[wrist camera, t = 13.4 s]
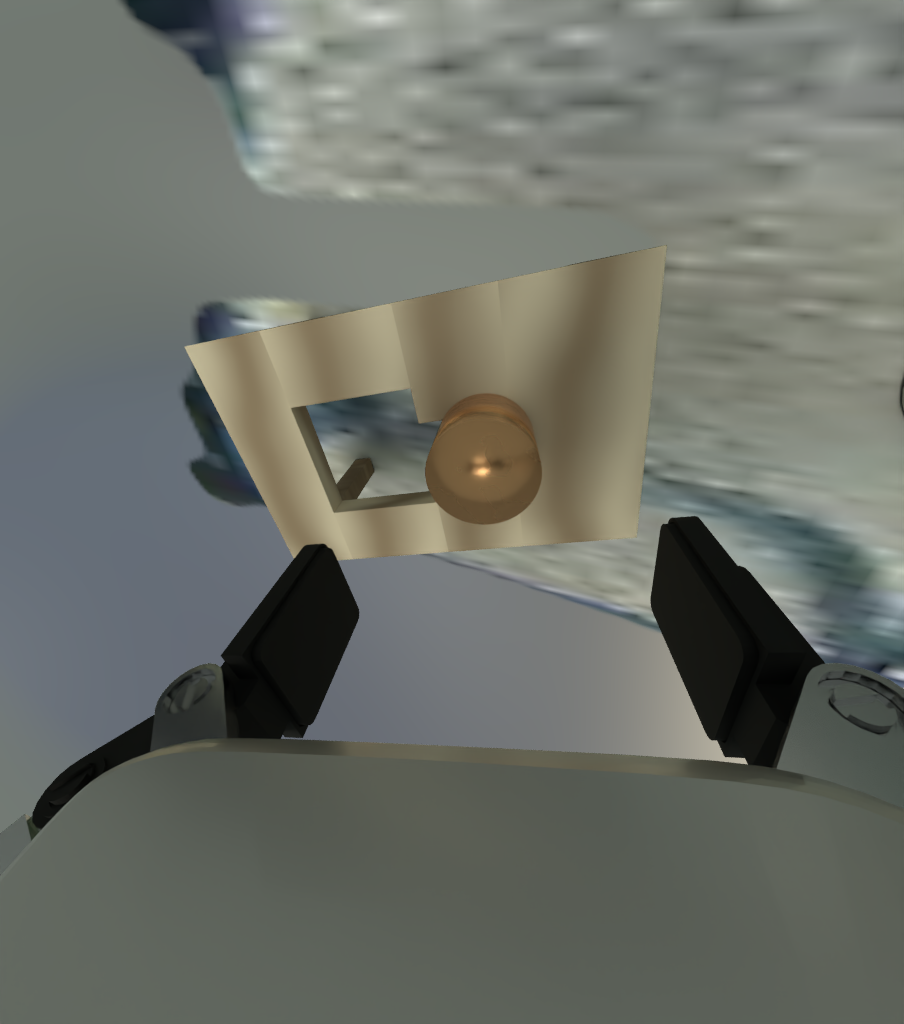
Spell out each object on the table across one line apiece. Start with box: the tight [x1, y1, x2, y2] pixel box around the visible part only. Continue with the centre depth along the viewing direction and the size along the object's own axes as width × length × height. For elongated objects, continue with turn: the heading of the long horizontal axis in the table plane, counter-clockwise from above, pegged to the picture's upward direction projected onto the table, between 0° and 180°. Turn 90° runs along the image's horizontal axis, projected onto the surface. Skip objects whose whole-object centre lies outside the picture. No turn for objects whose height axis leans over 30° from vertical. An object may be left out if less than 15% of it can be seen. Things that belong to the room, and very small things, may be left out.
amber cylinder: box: [425, 393, 542, 525], centre depth 22 cm, size 5×5×14 cm
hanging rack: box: [185, 245, 667, 560], centre depth 25 cm, size 22×14×14 cm, turn 101°
